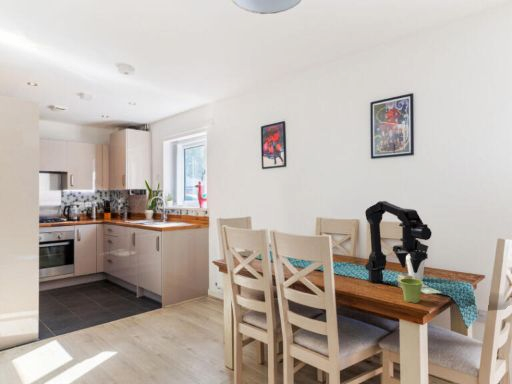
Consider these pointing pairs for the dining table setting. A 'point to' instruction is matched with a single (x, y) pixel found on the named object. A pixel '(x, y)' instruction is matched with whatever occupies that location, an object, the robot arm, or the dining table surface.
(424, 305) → the dining table surface
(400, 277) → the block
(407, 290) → the plant pot
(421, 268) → the foam cup
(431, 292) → the pad
